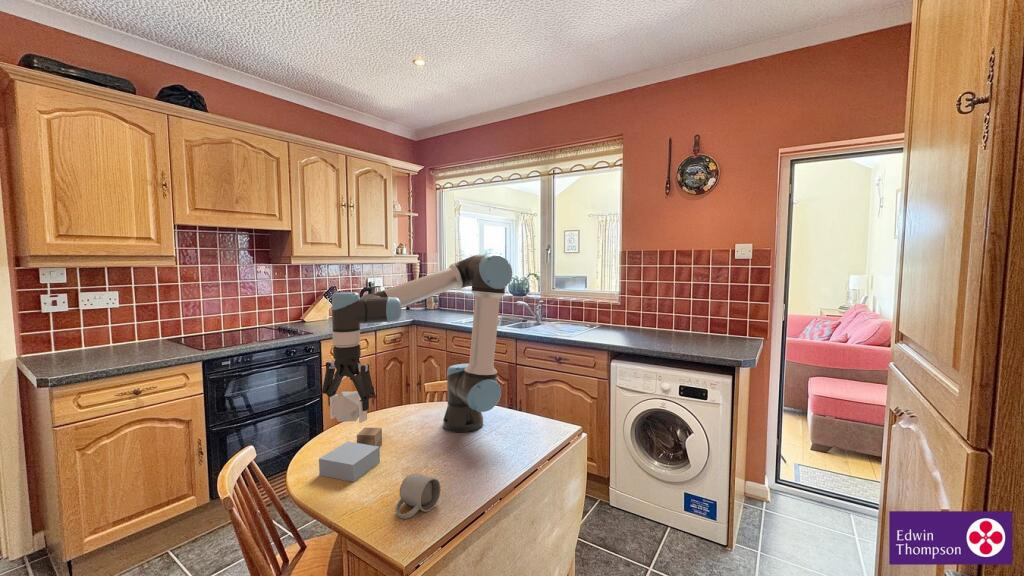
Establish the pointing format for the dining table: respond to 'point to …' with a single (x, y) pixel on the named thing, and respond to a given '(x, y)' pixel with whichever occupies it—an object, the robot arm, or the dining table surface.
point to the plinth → (349, 461)
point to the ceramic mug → (418, 494)
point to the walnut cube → (370, 436)
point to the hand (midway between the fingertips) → (348, 419)
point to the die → (346, 406)
